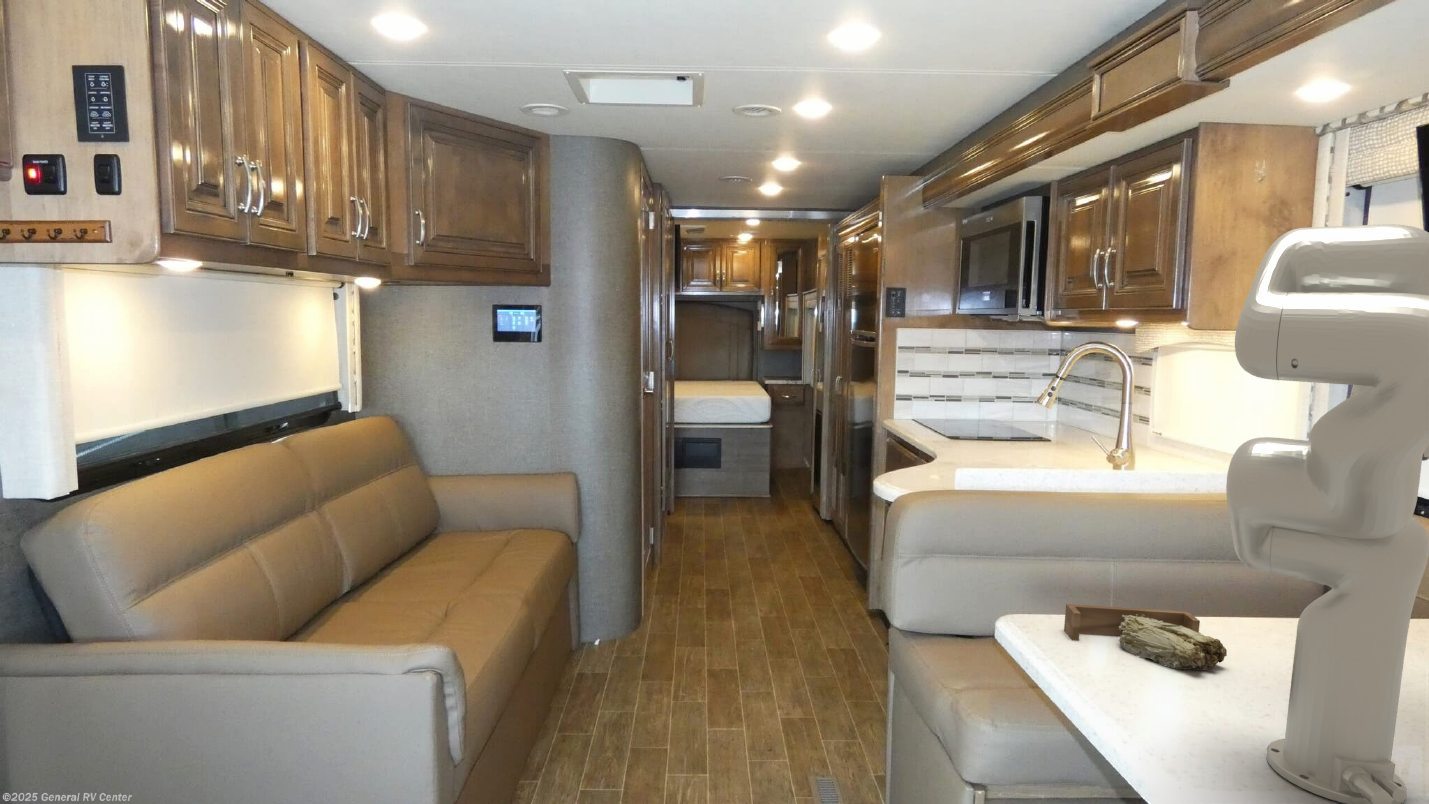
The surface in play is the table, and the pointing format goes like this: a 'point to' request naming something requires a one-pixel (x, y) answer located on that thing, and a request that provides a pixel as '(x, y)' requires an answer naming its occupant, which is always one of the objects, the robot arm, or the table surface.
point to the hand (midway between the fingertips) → (1375, 507)
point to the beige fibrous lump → (1170, 644)
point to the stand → (1117, 619)
